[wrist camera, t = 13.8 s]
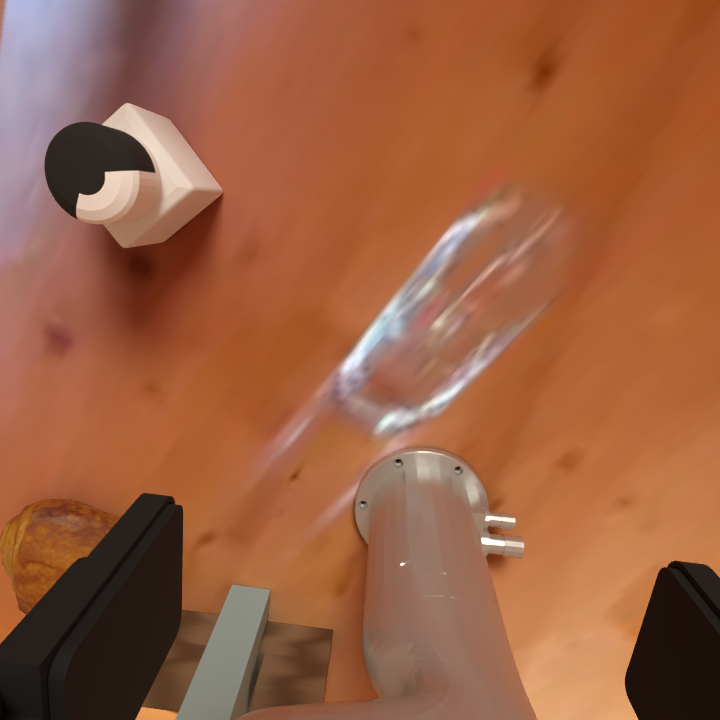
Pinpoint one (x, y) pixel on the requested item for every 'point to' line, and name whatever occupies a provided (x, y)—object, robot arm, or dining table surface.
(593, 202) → the dining table surface
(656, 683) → the robot arm
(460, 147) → the dining table surface
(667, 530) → the dining table surface
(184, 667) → the mottled brown block
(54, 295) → the dining table surface
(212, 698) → the plain rectangular block
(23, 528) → the croissant
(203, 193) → the medicine bottle
